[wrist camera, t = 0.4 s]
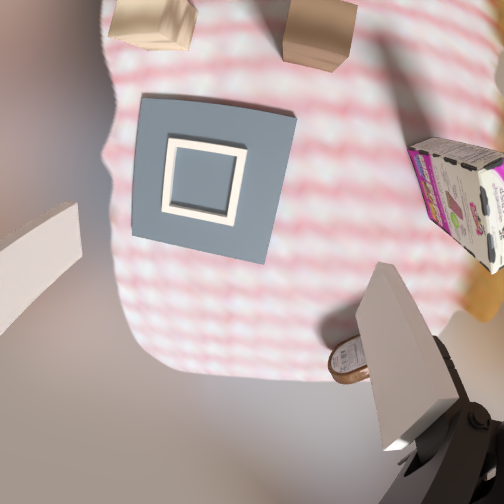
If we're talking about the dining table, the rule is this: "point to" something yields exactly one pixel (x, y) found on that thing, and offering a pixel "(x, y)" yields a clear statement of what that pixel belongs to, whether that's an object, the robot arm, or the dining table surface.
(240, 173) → the square frame
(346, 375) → the tin
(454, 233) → the candy bar box
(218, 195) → the baseboard
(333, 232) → the dining table surface
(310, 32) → the walnut block
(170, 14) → the birch block
